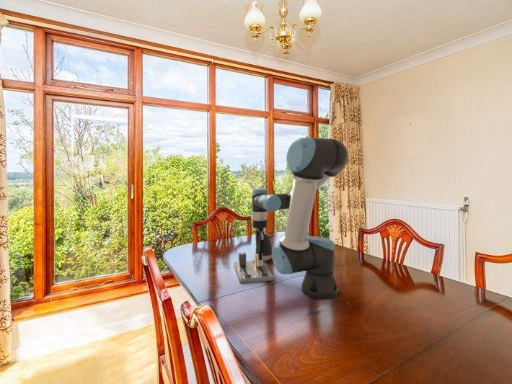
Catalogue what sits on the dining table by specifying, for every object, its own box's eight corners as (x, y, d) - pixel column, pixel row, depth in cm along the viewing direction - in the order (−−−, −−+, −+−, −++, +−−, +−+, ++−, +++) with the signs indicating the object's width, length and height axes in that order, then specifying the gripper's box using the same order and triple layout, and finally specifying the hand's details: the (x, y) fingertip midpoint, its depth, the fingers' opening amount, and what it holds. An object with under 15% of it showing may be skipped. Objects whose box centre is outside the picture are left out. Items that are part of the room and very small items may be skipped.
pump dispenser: (273, 262, 159) (273, 235, 158) (255, 262, 160) (255, 235, 158) (273, 256, 169) (272, 231, 168) (255, 256, 170) (255, 231, 169)
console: (274, 280, 133) (273, 274, 133) (239, 283, 130) (239, 276, 130) (262, 263, 156) (262, 258, 156) (233, 266, 153) (233, 260, 153)
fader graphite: (246, 265, 148) (246, 253, 147) (239, 265, 147) (239, 253, 147) (245, 263, 151) (245, 251, 150) (238, 263, 150) (238, 252, 150)
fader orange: (262, 266, 146) (262, 254, 145) (255, 267, 145) (255, 255, 145) (261, 264, 149) (261, 252, 148) (254, 265, 148) (254, 253, 148)
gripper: (270, 221, 135) (270, 269, 137) (264, 217, 148) (264, 261, 150) (254, 222, 134) (255, 270, 136) (250, 217, 147) (250, 261, 149)
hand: (259, 265), depth 143 cm, fingers closed
